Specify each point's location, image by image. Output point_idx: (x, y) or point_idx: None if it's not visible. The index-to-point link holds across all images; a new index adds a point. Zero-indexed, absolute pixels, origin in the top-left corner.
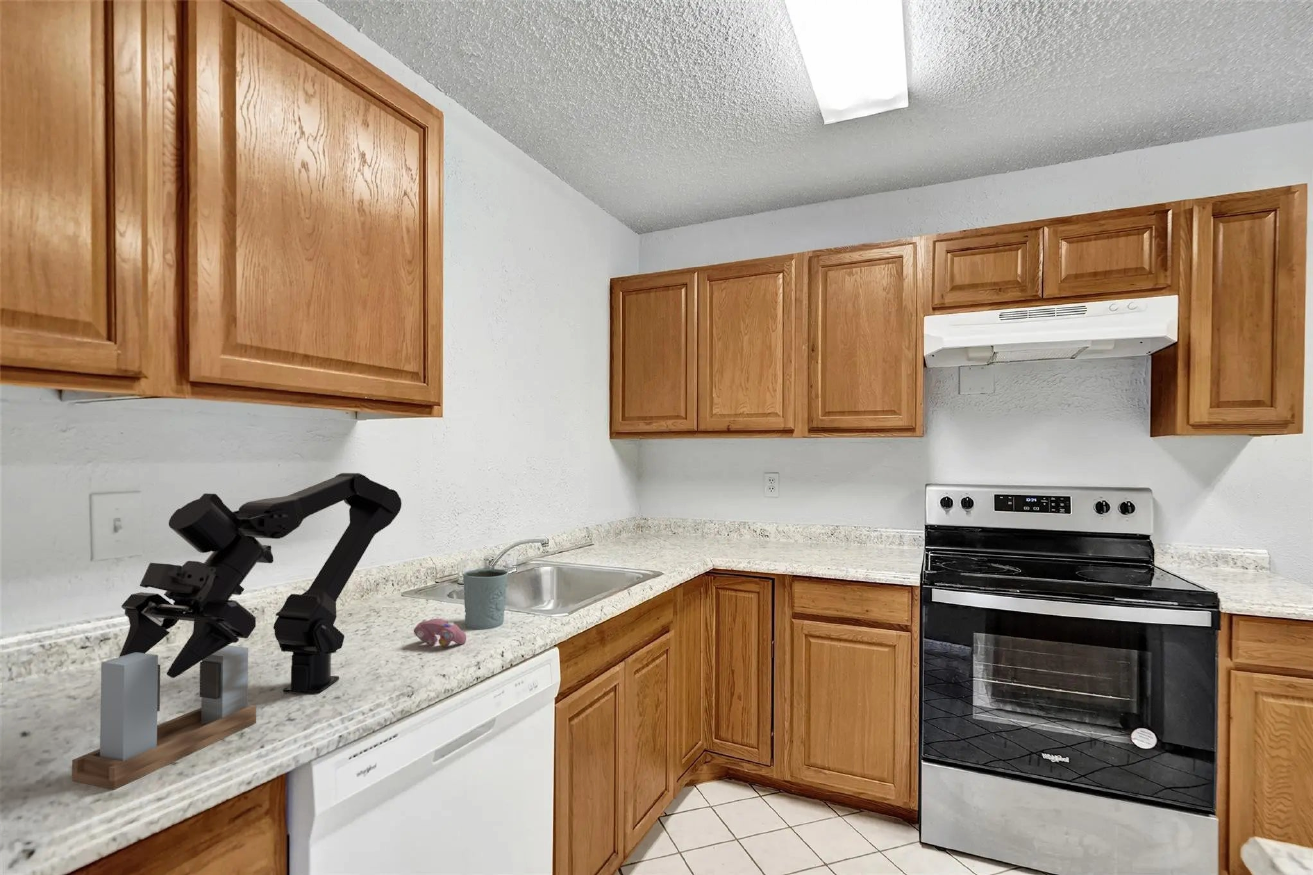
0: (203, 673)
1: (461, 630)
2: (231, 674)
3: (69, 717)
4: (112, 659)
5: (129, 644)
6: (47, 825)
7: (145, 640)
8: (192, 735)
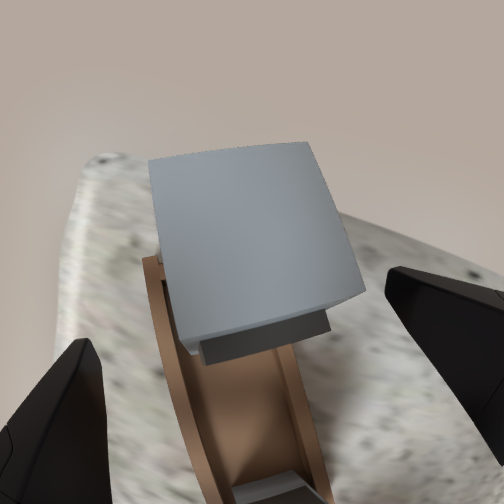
0: None
1: None
2: None
3: None
4: (315, 177)
5: (466, 297)
6: (124, 183)
7: (484, 371)
8: (178, 419)
